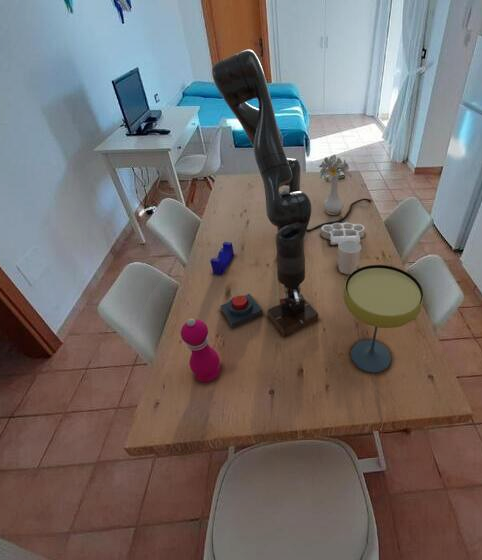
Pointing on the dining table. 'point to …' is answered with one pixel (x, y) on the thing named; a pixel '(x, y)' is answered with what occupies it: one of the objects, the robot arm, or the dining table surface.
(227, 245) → the blue notched block
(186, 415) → the dining table surface
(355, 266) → the white cup
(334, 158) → the flower vase
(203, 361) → the pepper mill
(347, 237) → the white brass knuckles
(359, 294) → the cocktail glass
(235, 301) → the button
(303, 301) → the selector knob handle
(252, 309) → the button box
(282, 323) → the switch base
